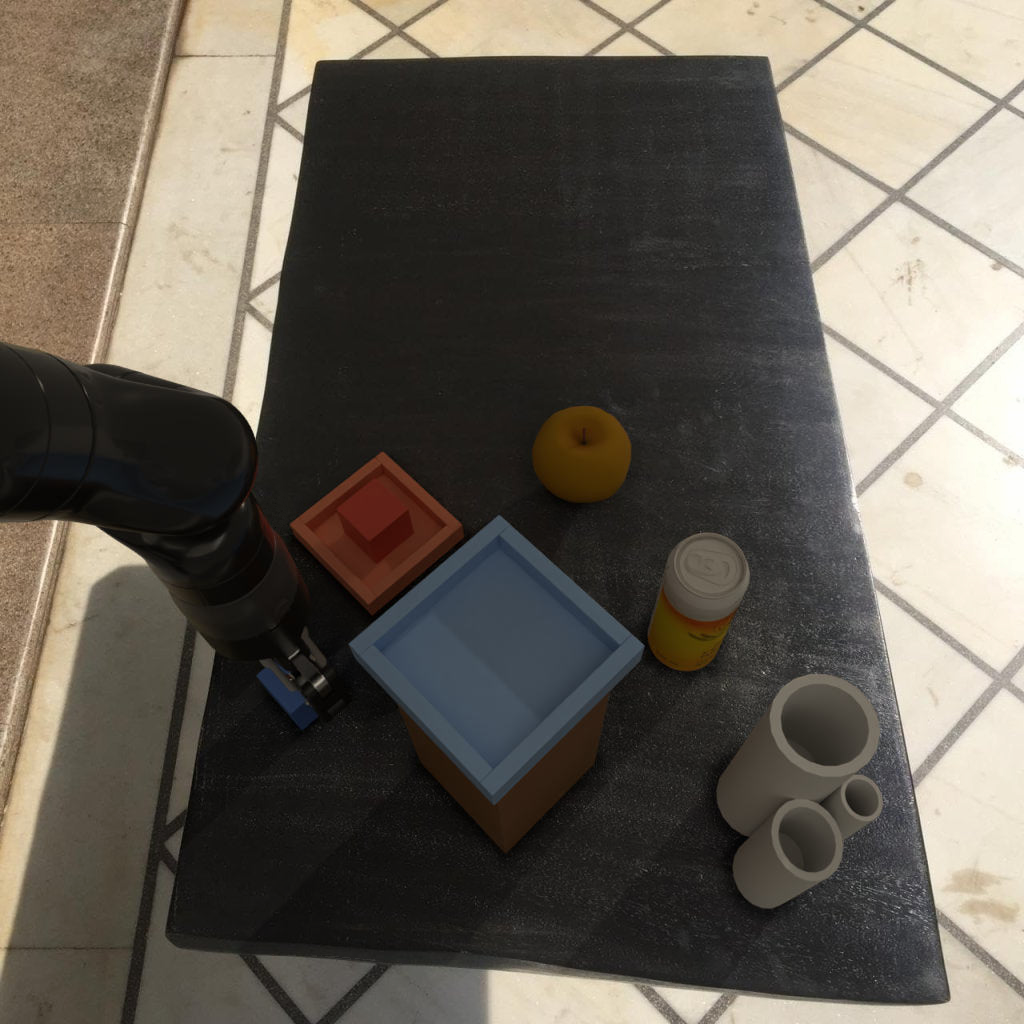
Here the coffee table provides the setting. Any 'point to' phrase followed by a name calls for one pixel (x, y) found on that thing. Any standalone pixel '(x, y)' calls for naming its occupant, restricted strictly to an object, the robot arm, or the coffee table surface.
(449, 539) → the red tray
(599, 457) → the apple
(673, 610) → the beer can
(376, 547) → the red block
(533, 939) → the coffee table surface
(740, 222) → the coffee table surface
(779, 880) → the vase
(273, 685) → the blue block
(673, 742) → the coffee table surface
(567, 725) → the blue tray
